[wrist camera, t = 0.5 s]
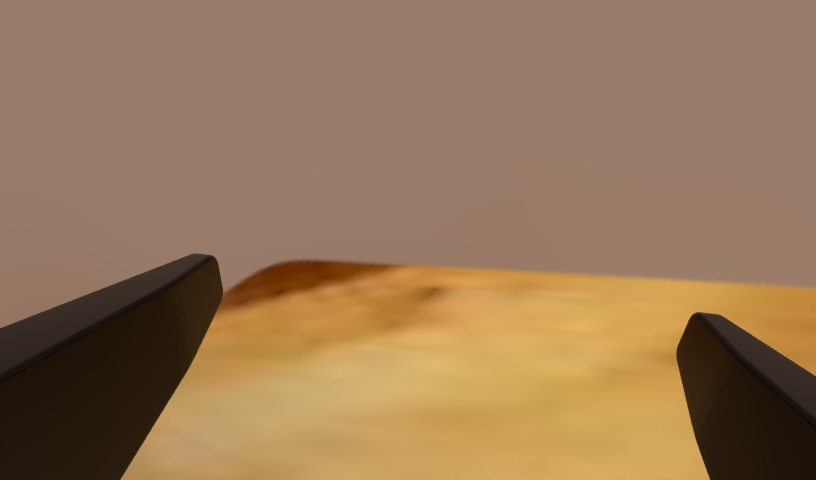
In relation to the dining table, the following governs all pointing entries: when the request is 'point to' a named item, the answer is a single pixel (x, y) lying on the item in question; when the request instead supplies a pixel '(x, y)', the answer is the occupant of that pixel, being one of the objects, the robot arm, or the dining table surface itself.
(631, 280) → the dining table surface
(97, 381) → the robot arm
